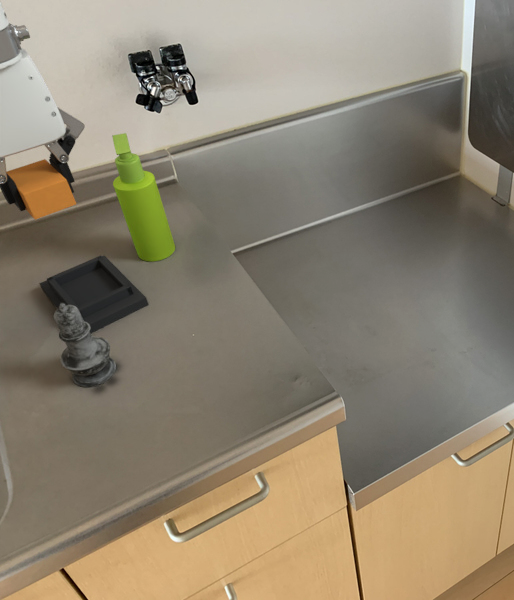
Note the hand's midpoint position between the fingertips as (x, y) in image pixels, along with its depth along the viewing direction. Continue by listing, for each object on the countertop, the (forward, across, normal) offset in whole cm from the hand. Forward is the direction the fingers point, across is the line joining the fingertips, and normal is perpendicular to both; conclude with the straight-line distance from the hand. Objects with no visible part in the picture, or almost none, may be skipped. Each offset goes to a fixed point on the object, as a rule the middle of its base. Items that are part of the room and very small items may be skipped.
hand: (43, 196), depth 76 cm
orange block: (+1, 0, 0) cm, 1 cm away
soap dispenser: (+20, -13, -7) cm, 25 cm away
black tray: (+19, -1, -3) cm, 20 cm away
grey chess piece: (+20, +5, +11) cm, 23 cm away
